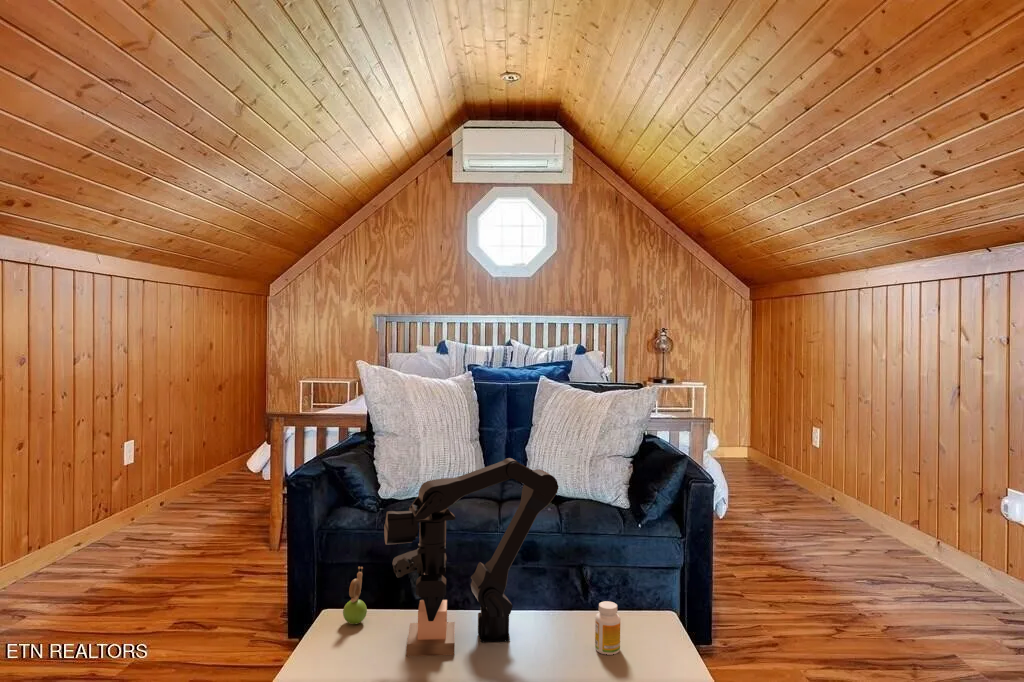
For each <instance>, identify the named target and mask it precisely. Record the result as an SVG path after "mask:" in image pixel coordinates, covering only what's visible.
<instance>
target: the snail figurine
mask: <svg viewBox="0 0 1024 682" xmlns="http://www.w3.org/2000/svg"><path fill="white" fill-rule="evenodd" d="M357 569H358V570H360V569H361V570H363V569H364V567H363V566H358V567H357ZM362 583H363V571H358V572H357V573H356V578H354V579H352V580H351V582H350V585H349V589H348V590H349V591H348V595H349V597H350V598H351V599H350V600H349V601H347V603H345V605H344V607H343V609H342V614H343V615H342V616H343V619H344V620H345V621H346V622H347V623H349V624H351V625H358V624H360V623H362V622H363V621H364V620H365V619H366V616H367V614H368V608H367V605H366V603H365V602H364V601H363V600H362V599H359V598H360V596H361V593H362V592H361V590H362Z"/></svg>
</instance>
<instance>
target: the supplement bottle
mask: <svg viewBox="0 0 1024 682" xmlns="http://www.w3.org/2000/svg"><path fill="white" fill-rule="evenodd" d="M594 618H595V619H594V620H595V621H594V622H595V625H594V626H595V627H594V629H595V630H594V631H595V632H594V648H595V651H597V652H598V653H600V654H602V655H606V654H607V656H610V655H611V656H613V654H614V655H617V654H618V653H620V651H621V616H620V615H619V614H618V604H617V603H615V602H613V601H610V600H609V601H608V600H607V601H601V602H599V603H598V612H597V613H596V614H595V617H594Z"/></svg>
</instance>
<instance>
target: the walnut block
mask: <svg viewBox="0 0 1024 682" xmlns="http://www.w3.org/2000/svg"><path fill="white" fill-rule="evenodd" d="M455 624H456V622H455V621H447V630H446V639H429V640H418V622H410V623H409V629H408V634H407V641H406V657H429V656H431V657H432V656H433V657H434V656H455V647H456V646H455V642H456V641H455V639H456V638H455V637H456V636H455V635H456V634H455V631H456V630H455V629H456V628H455Z"/></svg>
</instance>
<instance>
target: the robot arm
mask: <svg viewBox="0 0 1024 682" xmlns="http://www.w3.org/2000/svg"><path fill="white" fill-rule="evenodd" d="M508 480H515V481H516V482H518V483H521V484H522V485H523V486H522V489H521V496H520V497H521V498H520V503H519V505H518V507H517V509H516V511H515V513H514V515H513V517H512V519H511V520H510V522H509V524H508V526H507V528H506V530H505V532H504V534H503V536H502V538H501V540H500V542H499V543H498V545H497V546H496V547H497V548H495V550H494V553H493V555H492V556H491V558H490V559H489V560H488V561H486V563H485V564H484V563H482V562H481V561H479V562H478V564H477V565H476V569H475V571H474V573H473V574H472V575H471V576H470V579H471V582H470V589H471V592H472V594H473V595H474V596H475V599H476V600H477V602H478V603H479V605H480V612H478V613H477V634H478V636H479V639H480V642H482V643H491V642H493V643H494V642H497V643H498V642H510V641H511V637H510V615H511V613H512V609H513V604H512V602H511V601H510V600H509V598H508V597H507V596H506V594H505V591H506V589H507V584H508V575H509V572H510V569H511V567H512V565H513V562H514V561H515V558H516V557H517V555H518V552H519V551H520V549H521V547H522V546H523V543H524V541H525V539H526V538H527V536H528V533H529V532H530V530H531V528H532V526H533V524H534V522H535V520H536V518H537V516H538V514H539V513H541V512H542V511H543V510H545V508H547V506H549V505H550V503H551V502H552V501H553V499H554V498H555V496H556V495H557V493H558V491H559V484H558V480H557V479H556V478H555V476H553V475H551V474H550V473H549V472H546V471H545V470H543V469H541V468H539V469H538V468H537V469H531V468H529V467H527V466H525V465H523V464H522V463H520V462H518V460H515V459H513V457H512V458H511V457H508V458H505V459H503V460H501V461H498V462H497V463H494V464H493V463H492V464H490V465H487V466H485V467H482V468H479V469H476V470H473V471H470V472H467V473H465V474H463V475H459V476H455V477H444V478H443V477H442V478H438V479H437V478H436V479H432V480H426V481H424V482H423V483H422V484H421V486H420V487H419V490H418V495H417V497H416V498H415V499H414V501H413V502H412V504H411V505H409V508H408V509H409V510H402V511H401V510H400V511H395V510H389V511H386V515H385V523H384V525H383V526H384V527H383V529H384V530H383V532H384V533H383V535H384V543H385V545H386V546H387V545H389V546H390V545H397V544H398V545H400V544H410V543H411V544H412V543H413V542H414V541H416V539H417V538H418V535H419V543H417V544H418V547H417V549H414V550H409V551H407V552H404V553H402V554H399V555H397V556H395V557H394V558H393V560H392V567H393V568H392V569H393V573H394V574H395V576H396V578H402V577H404V576H405V575H408V574H410V573H414V572H416V574H420V576H419V577H418V578H416V582H415V595H416V596H417V597H418V598H420V599H421V600H424V603H425V607H426V612H427V617H428V621H434V619H435V616H436V614H437V612H438V609H439V607H440V605H441V603H442V600H444V598H445V597H446V594H447V578H446V577H445V575H446V572H447V553H446V551H447V547H446V546H447V545H446V544H447V543H446V542H447V521H455V520H456V516H455V514H454V513H453V512H451V511H450V509H449V507H451V506H453V505H455V503H457V502H458V501H459V500H460V499H461V498H464V497H465V496H467V495H472V494H473V493H476V492H479V491H482V490H484V489H487V488H491V487H493V486H495V485H498V484H500V483H503V482H506V481H508Z"/></svg>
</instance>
